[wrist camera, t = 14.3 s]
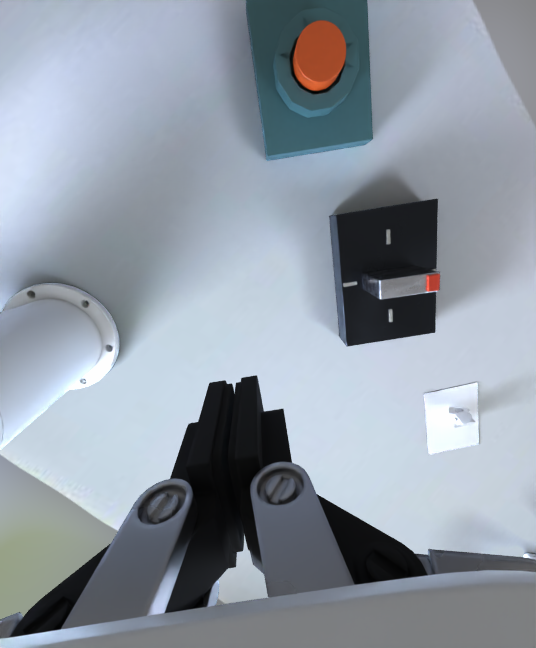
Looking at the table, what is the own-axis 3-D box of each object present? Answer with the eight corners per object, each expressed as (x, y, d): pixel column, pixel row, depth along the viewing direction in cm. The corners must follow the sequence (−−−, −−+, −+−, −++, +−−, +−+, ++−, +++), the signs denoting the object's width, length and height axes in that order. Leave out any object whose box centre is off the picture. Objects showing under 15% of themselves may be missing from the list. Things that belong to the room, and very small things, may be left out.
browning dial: (363, 290, 32) (381, 300, 28) (362, 273, 32) (380, 280, 27) (415, 282, 32) (441, 291, 28) (415, 265, 32) (442, 271, 27)
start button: (289, 37, 25) (292, 24, 23) (338, 29, 25) (344, 15, 23) (295, 95, 26) (298, 86, 25) (342, 87, 26) (348, 78, 25)
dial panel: (329, 215, 33) (336, 214, 30) (421, 200, 33) (439, 198, 30) (339, 337, 37) (346, 347, 34) (421, 324, 37) (436, 333, 34)
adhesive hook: (464, 402, 41) (480, 416, 38) (464, 418, 42) (480, 433, 39) (441, 407, 41) (456, 421, 38) (442, 423, 42) (456, 438, 39)
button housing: (246, 11, 27) (244, -24, 23) (357, -8, 27) (374, -45, 23) (266, 160, 31) (268, 151, 27) (365, 145, 31) (380, 133, 27)
